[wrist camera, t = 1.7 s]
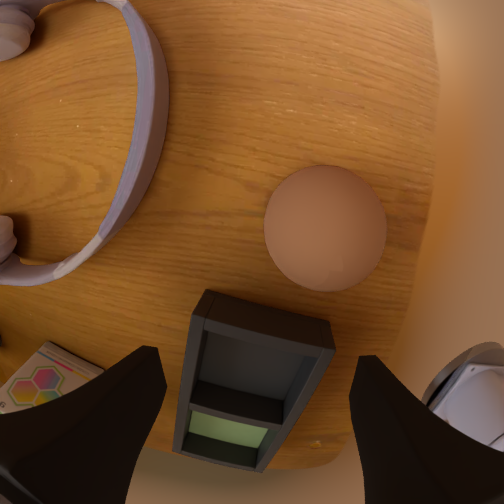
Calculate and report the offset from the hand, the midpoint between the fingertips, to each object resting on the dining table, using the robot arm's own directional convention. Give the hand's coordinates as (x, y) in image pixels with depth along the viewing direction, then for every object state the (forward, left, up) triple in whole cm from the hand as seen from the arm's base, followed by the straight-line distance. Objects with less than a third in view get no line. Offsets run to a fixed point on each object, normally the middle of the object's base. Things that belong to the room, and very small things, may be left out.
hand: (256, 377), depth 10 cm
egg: (-2, -5, -8) cm, 10 cm away
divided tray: (-1, +9, -8) cm, 12 cm away
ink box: (+14, +14, -8) cm, 22 cm away
